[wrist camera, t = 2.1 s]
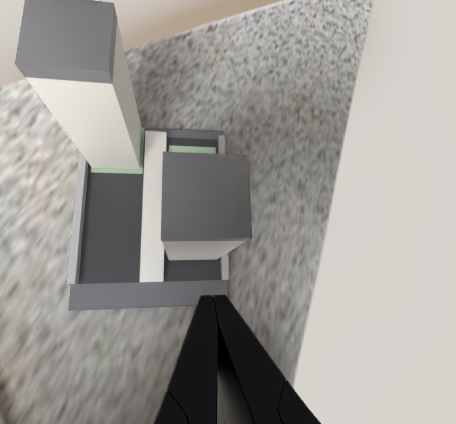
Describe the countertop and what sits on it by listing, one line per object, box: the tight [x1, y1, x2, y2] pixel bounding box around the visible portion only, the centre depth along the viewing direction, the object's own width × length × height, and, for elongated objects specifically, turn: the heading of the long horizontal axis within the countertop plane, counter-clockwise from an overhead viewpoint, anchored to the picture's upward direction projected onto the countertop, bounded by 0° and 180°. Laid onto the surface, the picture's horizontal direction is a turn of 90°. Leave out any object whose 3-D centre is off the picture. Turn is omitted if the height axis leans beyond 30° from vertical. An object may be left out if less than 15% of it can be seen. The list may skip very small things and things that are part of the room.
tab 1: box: [15, 0, 142, 169], centre depth 18 cm, size 4×4×11 cm
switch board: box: [67, 127, 229, 311], centre depth 23 cm, size 14×11×2 cm
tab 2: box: [161, 151, 252, 260], centre depth 17 cm, size 4×4×11 cm
